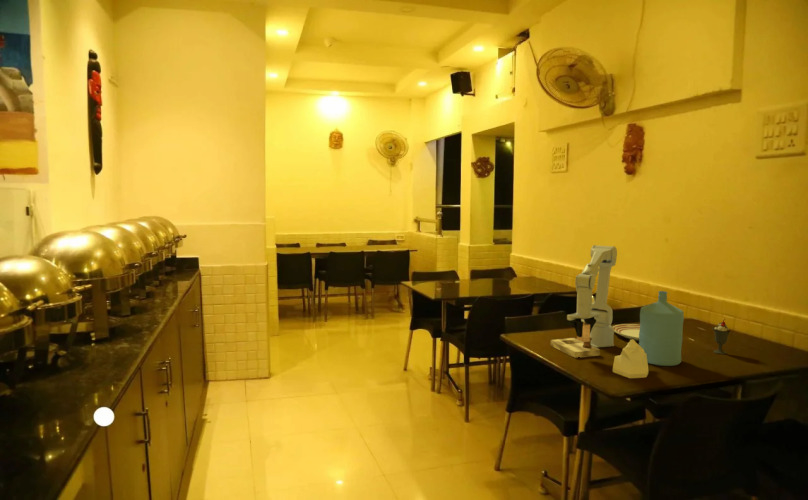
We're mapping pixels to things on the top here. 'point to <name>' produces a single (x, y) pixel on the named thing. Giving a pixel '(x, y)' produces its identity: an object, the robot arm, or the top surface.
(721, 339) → the sundae
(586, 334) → the brown wooden block
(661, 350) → the water jug
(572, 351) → the board
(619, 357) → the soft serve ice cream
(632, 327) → the dinner plate
